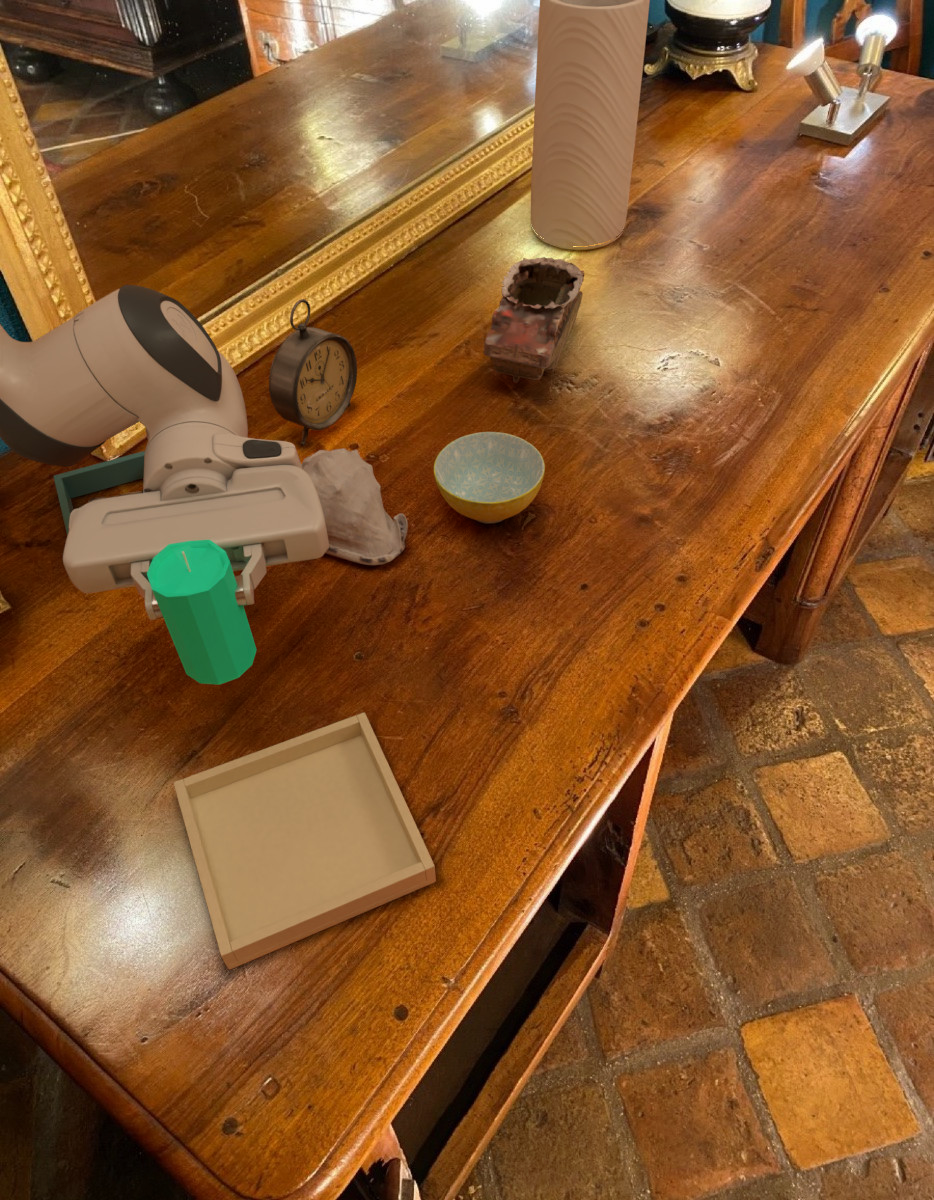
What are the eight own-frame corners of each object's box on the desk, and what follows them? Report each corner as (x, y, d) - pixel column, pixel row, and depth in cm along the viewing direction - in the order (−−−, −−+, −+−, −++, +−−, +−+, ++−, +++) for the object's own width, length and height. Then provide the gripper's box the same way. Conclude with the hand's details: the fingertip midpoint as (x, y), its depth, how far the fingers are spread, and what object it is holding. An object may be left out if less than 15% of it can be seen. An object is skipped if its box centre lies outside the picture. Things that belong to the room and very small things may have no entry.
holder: (79, 565, 97) (69, 544, 95) (62, 496, 104) (53, 475, 102) (190, 532, 100) (183, 511, 98) (166, 467, 107) (160, 446, 105)
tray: (228, 970, 70) (220, 956, 68) (181, 799, 79) (173, 782, 77) (436, 882, 74) (434, 866, 72) (367, 729, 83) (364, 711, 81)
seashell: (397, 576, 96) (390, 503, 88) (270, 551, 98) (252, 478, 91) (433, 497, 103) (429, 424, 96) (314, 476, 106) (301, 403, 99)
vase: (643, 226, 143) (675, -14, 119) (587, 264, 136) (608, 17, 112) (568, 198, 149) (583, -35, 125) (510, 232, 142) (514, -8, 118)
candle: (257, 679, 75) (225, 576, 66) (180, 690, 74) (137, 588, 65) (256, 621, 79) (225, 517, 70) (183, 632, 78) (142, 528, 69)
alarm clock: (307, 456, 108) (284, 332, 96) (271, 440, 110) (244, 317, 98) (365, 406, 114) (350, 284, 102) (329, 392, 116) (311, 270, 104)
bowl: (432, 478, 106) (429, 434, 101) (534, 471, 106) (536, 427, 101) (439, 550, 98) (437, 506, 93) (549, 542, 99) (552, 498, 94)
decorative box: (617, 330, 124) (626, 262, 117) (566, 418, 112) (571, 348, 105) (524, 309, 128) (526, 242, 121) (464, 392, 116) (463, 322, 109)
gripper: (58, 474, 76) (42, 601, 67) (312, 439, 79) (329, 557, 70) (83, 530, 81) (71, 655, 72) (322, 495, 83) (339, 612, 74)
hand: (201, 606), depth 71 cm, fingers closed on candle, 5 cm apart
